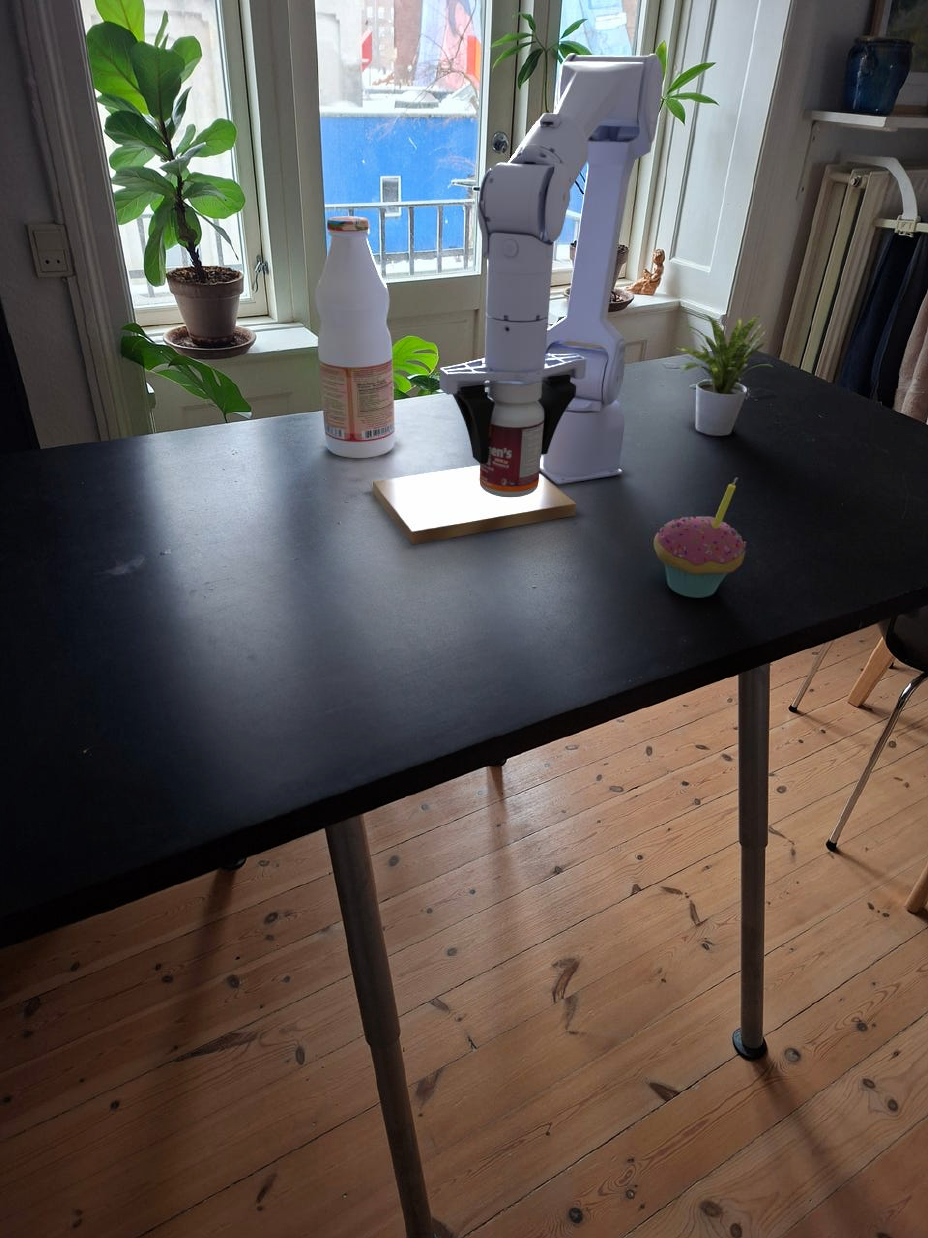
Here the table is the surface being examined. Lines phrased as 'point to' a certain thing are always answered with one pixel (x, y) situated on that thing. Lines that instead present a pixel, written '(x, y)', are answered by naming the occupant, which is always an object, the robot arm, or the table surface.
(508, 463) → the pill bottle
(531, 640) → the table surface
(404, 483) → the oak board
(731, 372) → the house plant
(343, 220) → the fruit juice
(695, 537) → the cupcake
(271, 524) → the table surface
